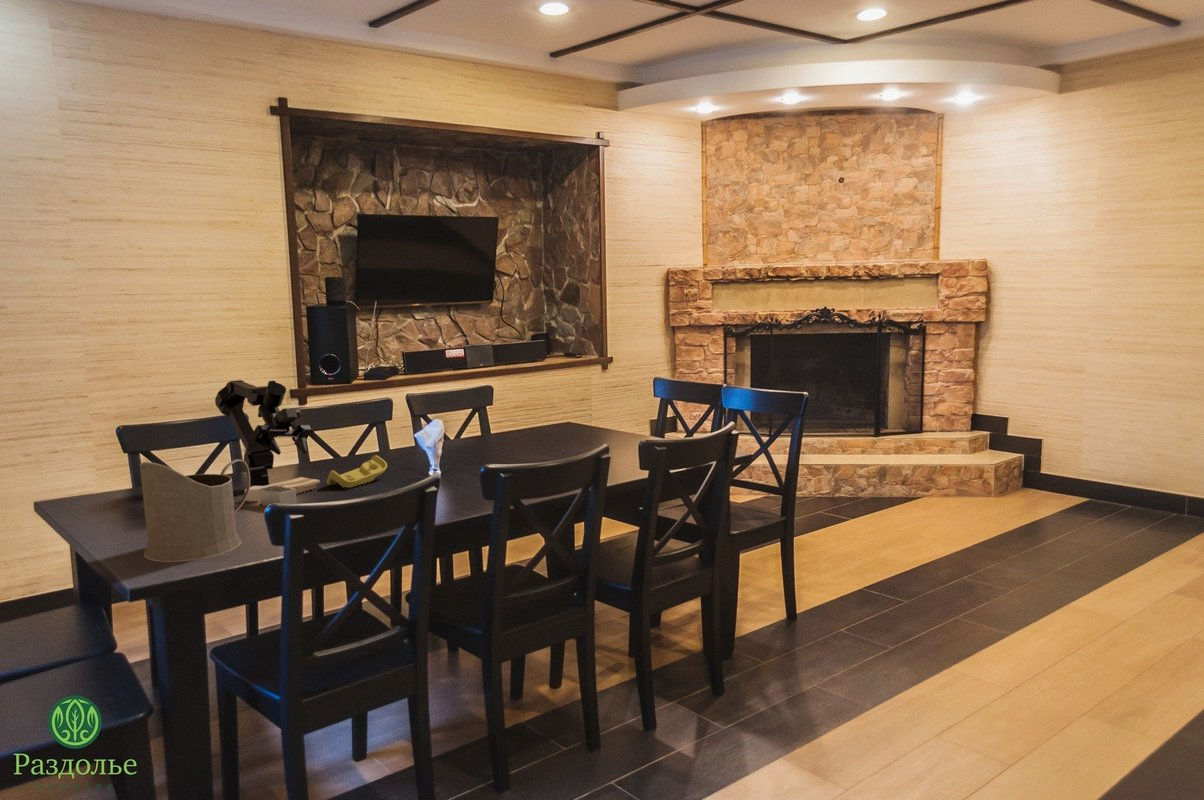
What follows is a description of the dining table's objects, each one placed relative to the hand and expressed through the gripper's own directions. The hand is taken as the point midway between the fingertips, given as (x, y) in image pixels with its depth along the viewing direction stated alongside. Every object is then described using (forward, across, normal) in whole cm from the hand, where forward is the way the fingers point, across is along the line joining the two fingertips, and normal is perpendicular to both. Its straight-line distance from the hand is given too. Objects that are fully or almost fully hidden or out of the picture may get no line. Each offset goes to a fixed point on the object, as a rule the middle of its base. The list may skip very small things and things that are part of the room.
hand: (292, 453), depth 280 cm
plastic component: (+5, +29, +11) cm, 31 cm away
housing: (+10, -4, +12) cm, 16 cm away
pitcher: (+28, -37, +4) cm, 47 cm away
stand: (+1, +9, +18) cm, 20 cm away
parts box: (+1, -3, +20) cm, 21 cm away
